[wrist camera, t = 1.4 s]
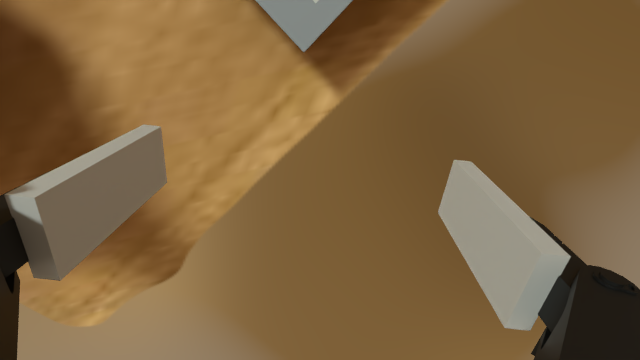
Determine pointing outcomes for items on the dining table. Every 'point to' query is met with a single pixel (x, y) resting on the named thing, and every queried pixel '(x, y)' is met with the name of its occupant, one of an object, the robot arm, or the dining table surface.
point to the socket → (304, 17)
